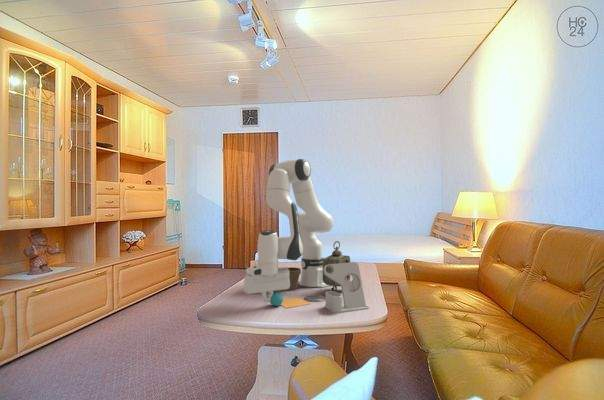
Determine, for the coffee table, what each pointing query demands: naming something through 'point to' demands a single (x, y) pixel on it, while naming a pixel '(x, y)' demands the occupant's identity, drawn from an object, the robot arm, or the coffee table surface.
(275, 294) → the ball
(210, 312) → the coffee table surface
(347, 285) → the grey coffee machine
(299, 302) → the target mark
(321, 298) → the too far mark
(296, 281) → the flower pot
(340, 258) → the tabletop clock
